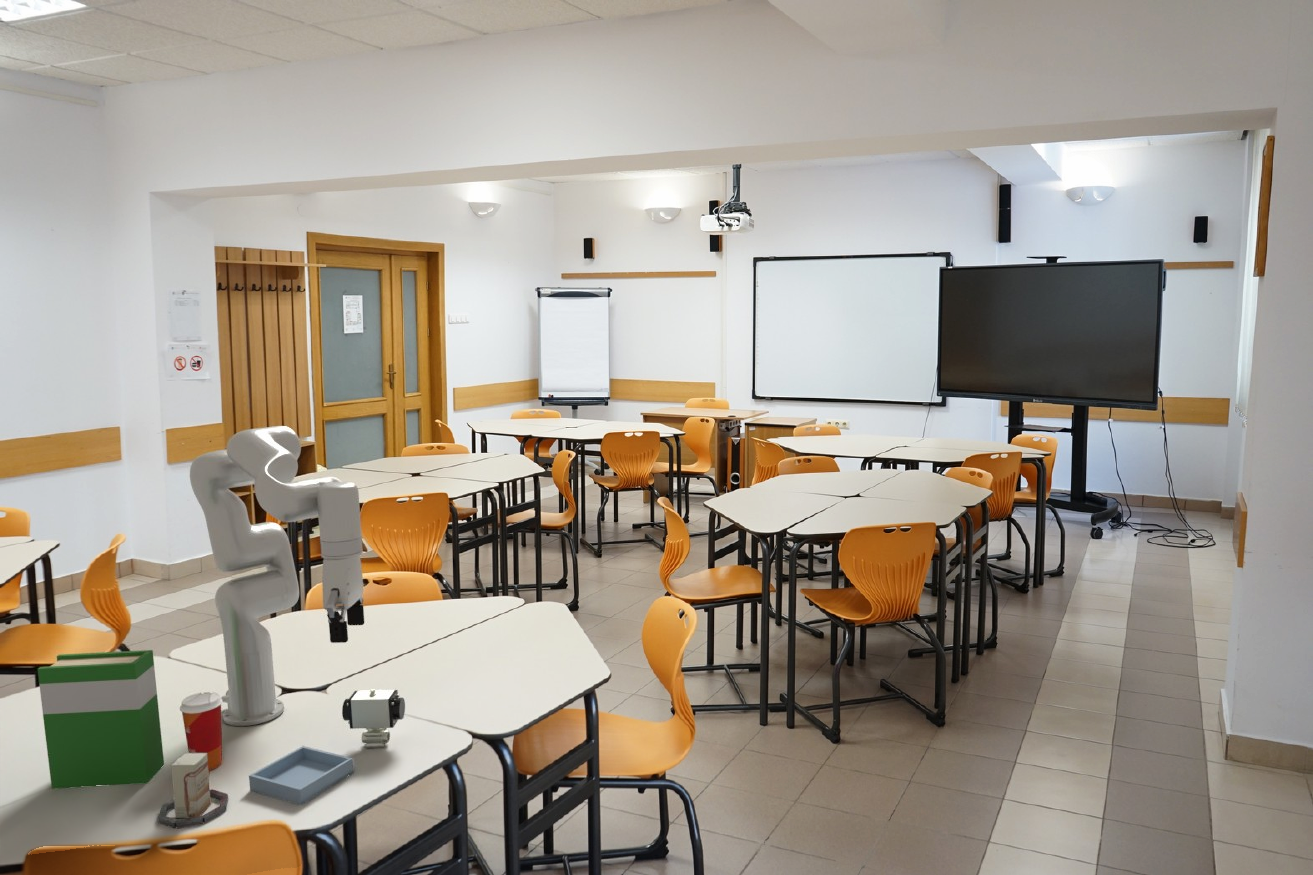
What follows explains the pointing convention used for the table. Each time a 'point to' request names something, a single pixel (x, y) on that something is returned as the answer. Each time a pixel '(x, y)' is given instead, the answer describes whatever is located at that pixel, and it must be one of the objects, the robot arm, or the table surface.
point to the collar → (195, 820)
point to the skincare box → (191, 785)
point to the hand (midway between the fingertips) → (347, 633)
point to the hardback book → (101, 719)
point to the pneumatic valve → (374, 714)
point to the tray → (301, 775)
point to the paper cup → (204, 726)
